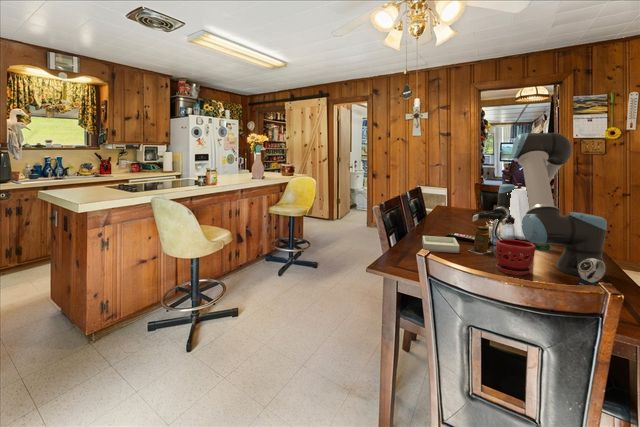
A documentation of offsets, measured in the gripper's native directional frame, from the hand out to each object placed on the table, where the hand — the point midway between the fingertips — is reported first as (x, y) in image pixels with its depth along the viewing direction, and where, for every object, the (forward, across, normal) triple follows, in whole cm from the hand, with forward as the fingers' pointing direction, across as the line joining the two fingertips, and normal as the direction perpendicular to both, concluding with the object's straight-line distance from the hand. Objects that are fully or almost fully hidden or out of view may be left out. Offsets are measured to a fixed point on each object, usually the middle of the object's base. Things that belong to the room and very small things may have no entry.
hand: (487, 220), depth 158 cm
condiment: (+10, 0, -14) cm, 17 cm away
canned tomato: (-14, -21, -14) cm, 29 cm away
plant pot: (+30, -19, -13) cm, 38 cm away
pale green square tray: (+17, +16, -13) cm, 27 cm away
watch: (+32, -42, -13) cm, 55 cm away
